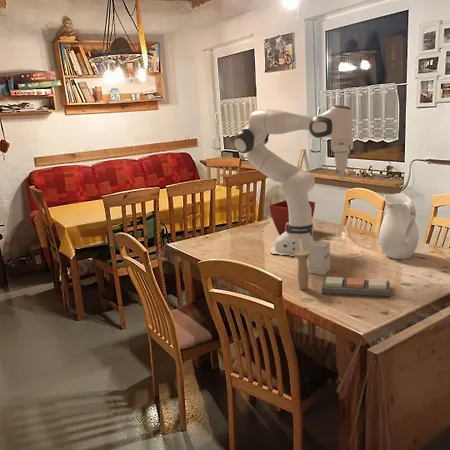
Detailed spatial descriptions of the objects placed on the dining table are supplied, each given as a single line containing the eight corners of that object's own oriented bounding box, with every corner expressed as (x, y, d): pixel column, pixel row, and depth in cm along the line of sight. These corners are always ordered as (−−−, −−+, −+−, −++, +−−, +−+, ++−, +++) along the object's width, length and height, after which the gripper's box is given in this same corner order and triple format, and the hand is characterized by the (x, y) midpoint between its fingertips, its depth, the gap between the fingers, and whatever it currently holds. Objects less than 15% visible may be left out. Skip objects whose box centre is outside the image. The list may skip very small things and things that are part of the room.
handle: (293, 288, 185) (291, 253, 181) (306, 284, 188) (305, 249, 184) (300, 292, 181) (299, 256, 177) (313, 288, 183) (312, 252, 180)
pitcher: (374, 250, 222) (374, 194, 215) (410, 248, 221) (411, 191, 214) (390, 268, 198) (391, 204, 192) (430, 265, 198) (432, 202, 191)
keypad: (321, 294, 177) (321, 288, 177) (324, 284, 187) (324, 278, 186) (389, 297, 170) (390, 291, 169) (389, 287, 179) (389, 280, 178)
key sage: (325, 288, 178) (325, 282, 178) (326, 281, 184) (326, 276, 184) (342, 288, 176) (342, 283, 176) (343, 282, 182) (343, 277, 182)
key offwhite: (368, 290, 173) (368, 284, 173) (368, 283, 179) (368, 278, 179) (386, 291, 171) (386, 285, 171) (386, 284, 177) (386, 279, 177)
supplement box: (324, 275, 196) (324, 247, 193) (308, 273, 200) (307, 245, 197) (330, 269, 202) (330, 242, 199) (314, 267, 206) (313, 240, 203)
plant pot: (269, 233, 265) (267, 205, 260) (290, 226, 277) (289, 198, 273) (295, 239, 251) (294, 208, 247) (316, 230, 263) (316, 201, 259)
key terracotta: (346, 289, 176) (346, 283, 175) (347, 282, 182) (347, 277, 181) (364, 289, 174) (363, 284, 173) (364, 283, 180) (364, 278, 179)
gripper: (335, 143, 203) (336, 174, 206) (332, 148, 184) (333, 182, 187) (350, 142, 201) (350, 174, 204) (349, 147, 182) (349, 182, 185)
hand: (342, 178), depth 195 cm, fingers open, 8 cm apart
